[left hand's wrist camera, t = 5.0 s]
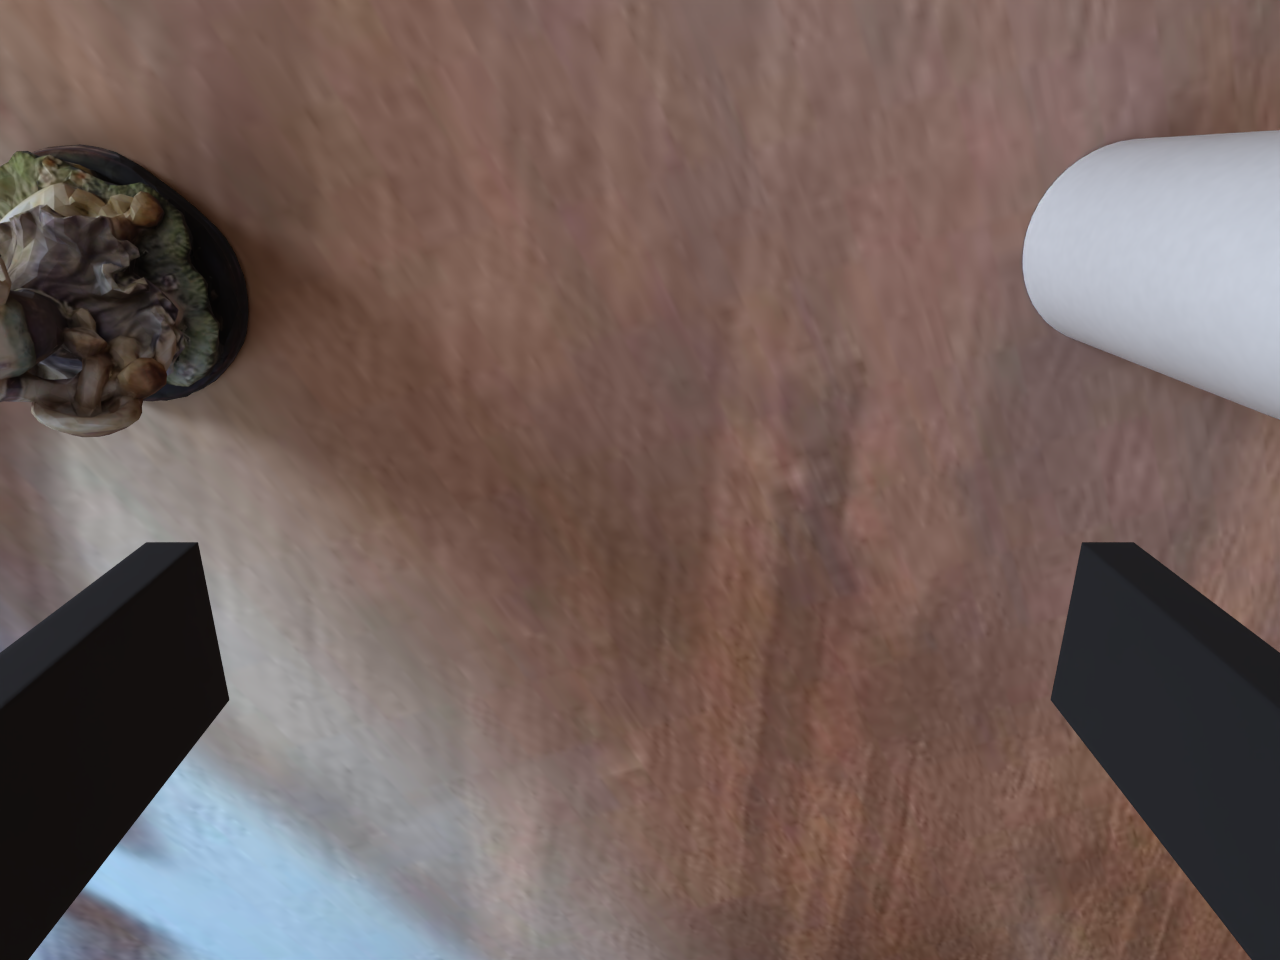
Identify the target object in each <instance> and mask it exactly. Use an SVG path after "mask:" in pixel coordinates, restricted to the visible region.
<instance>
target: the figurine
mask: <svg viewBox="0 0 1280 960" xmlns="http://www.w3.org/2000/svg"><path fill="white" fill-rule="evenodd" d="M247 323H248V298H247V290H246V283H245V279H244V275H243V273H242V270H241V267H240V265H239V262H238V260H237V257H236V255H235V253H234V251H233V249H232V248H231V246H230V244H229V243H228V241H227V239H226V238H225V237H224V236H223V235H222V233H221V232H220V231H219V230H218V229H217V227H216V226H215V225H214V224H212V223H211V222H210V221H209V220H208V219H207V218H206V217H205V216H204V215H203V214H202V213H201V212H200V211H198V210H197V209H196V208H195V207H194V206H193V205H192V204H190V203H189V202H188V201H187V200H185V199H184V198H183V197H182V196H180V195H179V194H178V193H177V192H176V191H174V190H173V189H172V188H170V187H169V186H167V185H166V184H165V183H163V182H162V181H160V180H159V179H158V178H156V177H155V176H153V175H152V174H151V173H149V172H148V171H147V170H145V169H144V168H143V167H141V166H139V165H138V164H136V163H134V162H133V161H131V160H129V159H127V158H125V157H124V156H122V155H120V154H118V153H116V152H113V151H110V150H106V149H103V148H99V147H93V146H86V145H75V146H59V147H49V148H45V149H42V150H38V151H35V152H33V153H31V152H28V151H17V152H16V153H14V154H13V156H12V157H11V159H10V160H9V162H8V163H6V164H4V165H2V166H1V167H0V402H2V401H18V402H32V412H31V413H32V414H33V415H34V416H35V417H36V419H37V420H38V421H39V422H40V423H42V424H44V425H46V426H47V427H49V428H51V429H54V430H57V431H61V432H64V433H67V434H71V435H75V436H80V437H100V436H105V435H110V434H112V433H115V432H117V431H120V430H122V429H125V428H127V427H128V426H130V425H132V424H133V423H134V422H136V421H137V420H138V419H139V418H140V416H141V414H142V403H143V401H159V400H166V401H167V400H171V399H176V398H181V397H187V396H188V395H190V394H191V393H193V392H196V391H198V390H200V389H202V388H204V387H206V386H207V385H209V384H210V383H212V382H214V381H216V380H217V379H218V378H219V377H220V376H221V374H222V373H223V372H224V371H225V370H226V369H227V368H228V367H229V365H230V364H231V363H232V362H233V361H234V359H235V357H236V356H237V354H238V352H239V350H240V348H241V347H242V345H243V343H244V340H245V336H246V332H247Z"/></svg>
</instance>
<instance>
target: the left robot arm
mask: <svg viewBox="0 0 1280 960" xmlns="http://www.w3.org/2000/svg"><path fill="white" fill-rule="evenodd" d="M228 701H229V696H228V691H227V686H226V681H225V676H224V671H223V666H222V661H221V656H220V651H219V646H218V640H217V635H216V630H215V625H214V620H213V615H212V610H211V605H210V600H209V595H208V590H207V585H206V580H205V575H204V570H203V565H202V560H201V555H200V550H199V545H198V542H146V543H145V544H144V545H142V546H141V547H140V548H138V549H137V550H136V551H134V552H133V553H132V554H130V555H129V556H128V557H126V558H125V559H124V560H122V561H121V562H120V563H119V564H117V565H116V566H115V567H113V568H112V569H111V570H109V571H108V572H107V573H105V574H104V575H103V576H101V577H100V578H99V579H97V580H96V581H95V582H93V583H92V584H91V585H89V586H88V587H87V588H85V589H84V590H83V591H81V592H80V593H79V594H78V595H76V596H75V597H74V598H72V599H71V600H70V601H68V602H67V603H66V604H64V605H63V606H62V607H60V608H59V609H58V610H56V611H55V612H54V613H52V614H51V615H50V616H48V617H47V618H46V619H44V620H43V621H42V622H40V623H39V624H38V625H37V626H35V627H34V628H33V629H31V630H30V631H29V632H27V633H26V634H25V635H23V636H22V637H21V638H19V639H18V640H17V641H15V642H14V643H13V644H11V645H10V646H9V647H7V648H6V649H5V650H3V651H2V652H1V653H0V960H28V959H29V958H30V957H31V956H32V954H33V953H34V952H35V950H36V949H37V948H38V946H39V945H40V944H41V943H42V941H43V940H44V939H45V937H46V936H47V935H48V934H49V932H50V931H51V930H52V928H53V927H54V926H55V925H56V923H57V922H58V921H59V919H60V918H61V917H62V915H63V914H64V913H65V912H66V910H67V909H68V908H69V906H70V905H71V904H72V903H73V901H74V900H75V899H76V897H77V896H78V895H79V893H80V892H81V891H82V890H83V888H84V887H85V886H86V884H87V883H88V882H89V881H90V879H91V878H92V877H93V875H94V874H95V873H96V872H97V870H98V869H99V868H100V866H101V865H102V864H103V862H104V861H105V860H106V859H107V857H108V856H109V855H110V853H111V852H112V851H113V850H114V848H115V847H116V846H117V844H118V843H119V842H120V841H121V839H122V838H123V837H124V835H125V834H126V833H127V831H128V830H129V829H130V828H131V826H132V825H133V824H134V822H135V821H136V820H137V819H138V817H139V816H140V815H141V813H142V812H143V811H144V809H145V808H146V807H147V806H148V804H149V803H150V802H151V800H152V799H153V798H154V797H155V795H156V794H157V793H158V791H159V790H160V789H161V788H162V786H163V785H164V784H165V782H166V781H167V780H168V778H169V777H170V776H171V775H172V773H173V772H174V771H175V769H176V768H177V767H178V766H179V764H180V763H181V762H182V760H183V759H184V758H185V757H186V755H187V754H188V753H189V751H190V750H191V749H192V747H193V746H194V745H195V744H196V742H197V741H198V740H199V738H200V737H201V736H202V735H203V733H204V732H205V731H206V729H207V728H208V727H209V725H210V724H211V723H212V722H213V720H214V719H215V718H216V716H217V715H218V714H219V713H220V711H221V710H222V709H223V707H224V706H225V705H226V704H227V702H228ZM1051 701H1052V702H1053V704H1054V705H1055V706H1056V707H1057V709H1058V710H1059V711H1060V713H1061V714H1062V715H1063V716H1064V718H1065V719H1066V720H1067V722H1068V723H1069V724H1070V726H1071V727H1072V728H1073V729H1074V731H1075V732H1076V733H1077V735H1078V736H1079V737H1080V738H1081V740H1082V741H1083V742H1084V744H1085V745H1086V746H1087V747H1088V749H1089V750H1090V751H1091V753H1092V754H1093V755H1094V757H1095V758H1096V759H1097V760H1098V762H1099V763H1100V764H1101V766H1102V767H1103V768H1104V769H1105V771H1106V772H1107V773H1108V775H1109V776H1110V777H1111V778H1112V780H1113V781H1114V782H1115V784H1116V785H1117V786H1118V788H1119V789H1120V790H1121V791H1122V793H1123V794H1124V795H1125V797H1126V798H1127V799H1128V800H1129V802H1130V803H1131V804H1132V806H1133V807H1134V808H1135V809H1136V811H1137V812H1138V813H1139V815H1140V816H1141V817H1142V819H1143V820H1144V821H1145V822H1146V824H1147V825H1148V826H1149V828H1150V829H1151V830H1152V831H1153V833H1154V834H1155V835H1156V837H1157V838H1158V839H1159V841H1160V842H1161V843H1162V844H1163V846H1164V847H1165V848H1166V850H1167V851H1168V852H1169V853H1170V855H1171V856H1172V857H1173V859H1174V860H1175V861H1176V862H1177V864H1178V865H1179V866H1180V868H1181V869H1182V870H1183V872H1184V873H1185V874H1186V875H1187V877H1188V878H1189V879H1190V881H1191V882H1192V883H1193V884H1194V886H1195V887H1196V888H1197V890H1198V891H1199V892H1200V893H1201V895H1202V896H1203V897H1204V899H1205V900H1206V901H1207V903H1208V904H1209V905H1210V906H1211V908H1212V909H1213V910H1214V912H1215V913H1216V914H1217V915H1218V917H1219V918H1220V919H1221V921H1222V922H1223V923H1224V925H1225V926H1226V927H1227V928H1228V930H1229V931H1230V932H1231V934H1232V935H1233V936H1234V937H1235V939H1236V940H1237V941H1238V943H1239V944H1240V945H1241V946H1242V948H1243V949H1244V950H1245V952H1246V953H1247V954H1248V956H1249V957H1250V958H1251V959H1252V960H1280V653H1279V652H1278V651H1277V650H1275V649H1274V648H1273V647H1271V646H1270V645H1269V644H1267V643H1266V642H1265V641H1263V640H1262V639H1261V638H1259V637H1258V636H1257V635H1255V634H1254V633H1253V632H1251V631H1250V630H1249V629H1247V628H1246V627H1245V626H1243V625H1242V624H1241V623H1240V622H1238V621H1237V620H1236V619H1234V618H1233V617H1232V616H1230V615H1229V614H1228V613H1226V612H1225V611H1224V610H1222V609H1221V608H1220V607H1218V606H1217V605H1216V604H1214V603H1213V602H1212V601H1210V600H1209V599H1208V598H1206V597H1205V596H1204V595H1202V594H1201V593H1200V592H1199V591H1197V590H1196V589H1195V588H1193V587H1192V586H1191V585H1189V584H1188V583H1187V582H1185V581H1184V580H1183V579H1181V578H1180V577H1179V576H1177V575H1176V574H1175V573H1173V572H1172V571H1171V570H1169V569H1168V568H1167V567H1165V566H1164V565H1163V564H1161V563H1160V562H1159V561H1158V560H1156V559H1155V558H1154V557H1152V556H1151V555H1150V554H1148V553H1147V552H1146V551H1144V550H1143V549H1142V548H1140V547H1139V546H1138V545H1136V544H1135V543H1134V542H1082V545H1081V550H1080V555H1079V560H1078V565H1077V570H1076V575H1075V580H1074V585H1073V590H1072V595H1071V600H1070V605H1069V610H1068V615H1067V620H1066V625H1065V630H1064V635H1063V640H1062V645H1061V651H1060V656H1059V661H1058V666H1057V671H1056V676H1055V681H1054V686H1053V691H1052V696H1051Z"/></svg>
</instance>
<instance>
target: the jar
mask: <svg viewBox="0 0 1280 960" xmlns="http://www.w3.org/2000/svg"><path fill="white" fill-rule="evenodd" d="M1023 274H1024V281H1025V284H1026V288H1027V292H1028V294H1029V296H1030V299H1031V301H1032V303H1033V305H1034V306H1035V308H1036V310H1037V311H1038V313H1039V314H1040V315H1041V316H1042V318H1043V319H1044V320H1045V321H1046V322H1047V323H1048V324H1049V325H1051V326H1052V327H1053V328H1054V329H1055V330H1057V331H1059V332H1060V333H1062V334H1064V335H1065V336H1067V337H1070V338H1072V339H1075V340H1077V341H1080V342H1082V343H1085V344H1087V345H1090V346H1093V347H1095V348H1098V349H1100V350H1103V351H1105V352H1108V353H1110V354H1113V355H1116V356H1118V357H1121V358H1123V359H1126V360H1128V361H1131V362H1133V363H1136V364H1138V365H1141V366H1144V367H1146V368H1149V369H1151V370H1154V371H1156V372H1159V373H1161V374H1164V375H1167V376H1169V377H1172V378H1174V379H1177V380H1179V381H1182V382H1184V383H1187V384H1190V385H1192V386H1195V387H1197V388H1200V389H1202V390H1205V391H1207V392H1210V393H1212V394H1215V395H1218V396H1220V397H1223V398H1225V399H1228V400H1230V401H1233V402H1235V403H1238V404H1241V405H1243V406H1246V407H1248V408H1251V409H1253V410H1256V411H1258V412H1261V413H1264V414H1266V415H1269V416H1271V417H1274V418H1276V419H1279V420H1280V130H1274V131H1257V132H1241V133H1225V134H1208V135H1192V136H1176V137H1159V138H1143V139H1131V140H1125V141H1120V142H1116V143H1113V144H1110V145H1107V146H1104V147H1102V148H1100V149H1098V150H1095V151H1093V152H1091V153H1090V154H1088V155H1086V156H1085V157H1083V158H1081V159H1080V160H1078V161H1077V162H1076V163H1074V164H1073V165H1072V166H1071V167H1069V168H1068V169H1067V170H1066V171H1065V172H1064V173H1063V174H1062V175H1061V176H1060V177H1059V178H1057V180H1056V181H1055V182H1054V183H1053V184H1052V186H1051V187H1050V188H1049V189H1048V190H1047V192H1046V193H1045V195H1044V196H1043V198H1042V199H1041V201H1040V202H1039V204H1038V206H1037V208H1036V210H1035V212H1034V214H1033V216H1032V219H1031V221H1030V224H1029V227H1028V230H1027V234H1026V238H1025V242H1024V249H1023Z"/></svg>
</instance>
